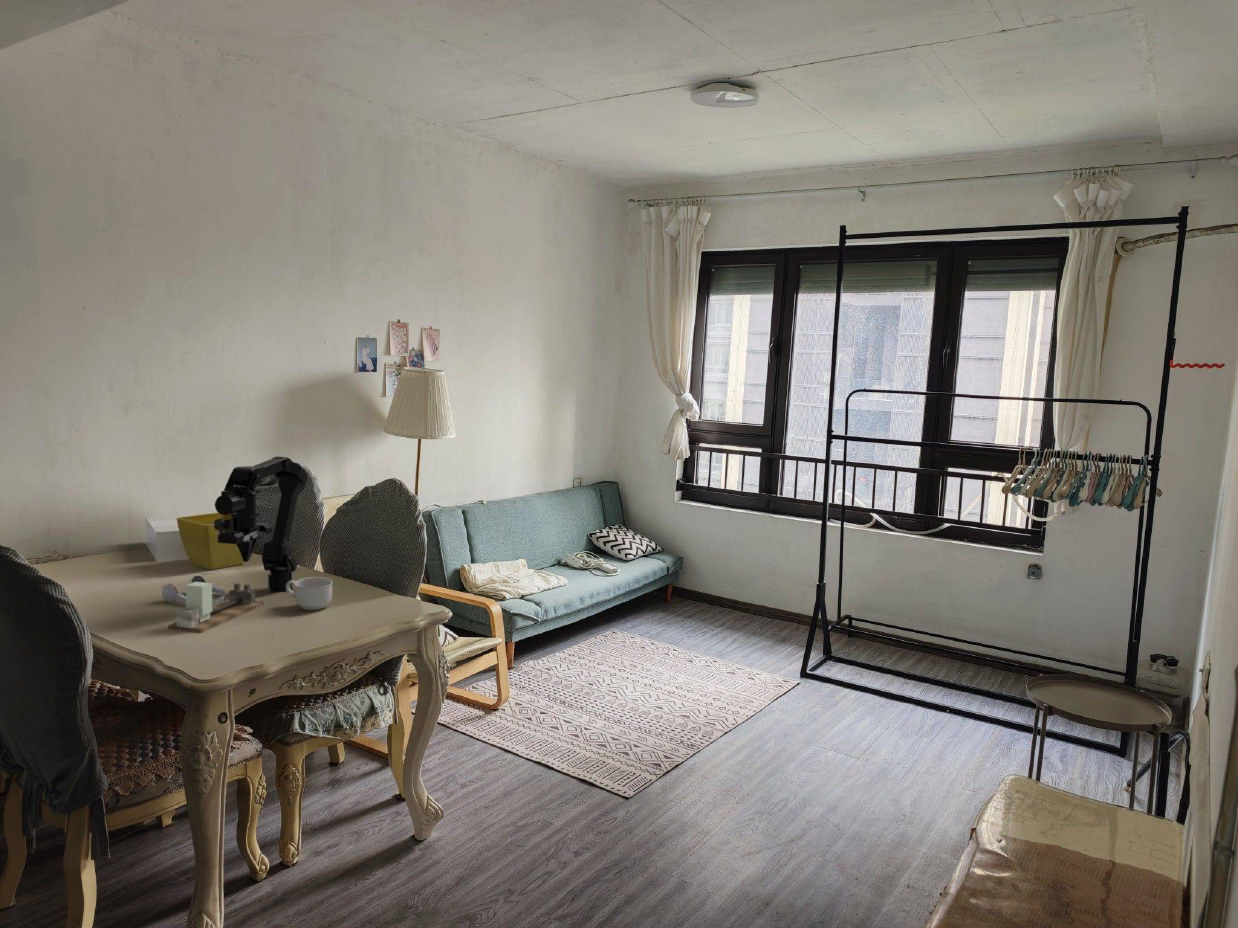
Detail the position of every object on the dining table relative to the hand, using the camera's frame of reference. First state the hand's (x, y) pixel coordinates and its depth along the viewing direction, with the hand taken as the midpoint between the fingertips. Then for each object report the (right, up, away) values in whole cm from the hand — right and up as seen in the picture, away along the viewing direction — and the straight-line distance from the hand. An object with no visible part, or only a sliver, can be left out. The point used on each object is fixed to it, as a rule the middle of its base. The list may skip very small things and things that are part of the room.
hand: (246, 561), depth 252 cm
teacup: (+18, -14, +2) cm, 23 cm away
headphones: (-18, -12, +6) cm, 23 cm away
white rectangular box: (-57, -4, +63) cm, 85 cm away
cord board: (-3, -14, -11) cm, 18 cm away
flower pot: (-31, -7, +46) cm, 56 cm away
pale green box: (-4, -14, -19) cm, 24 cm away
